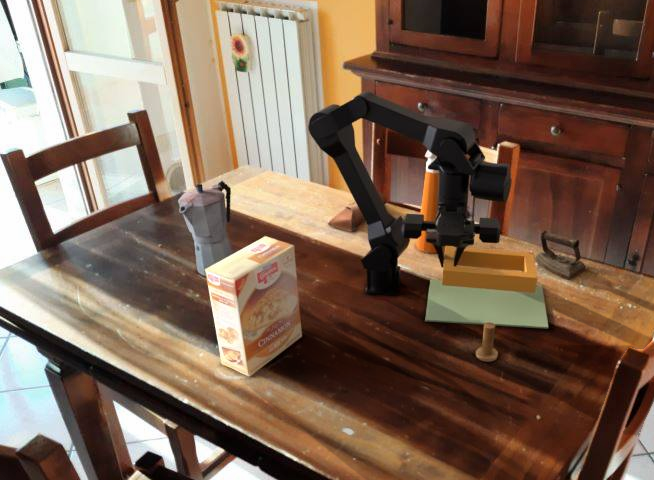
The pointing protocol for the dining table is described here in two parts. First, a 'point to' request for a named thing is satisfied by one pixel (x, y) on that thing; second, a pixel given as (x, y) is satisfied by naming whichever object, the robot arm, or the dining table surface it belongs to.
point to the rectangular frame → (490, 277)
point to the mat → (485, 306)
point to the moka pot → (208, 223)
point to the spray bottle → (429, 203)
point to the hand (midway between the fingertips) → (448, 267)
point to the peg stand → (487, 344)
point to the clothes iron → (557, 262)
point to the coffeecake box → (255, 304)
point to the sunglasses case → (350, 217)
